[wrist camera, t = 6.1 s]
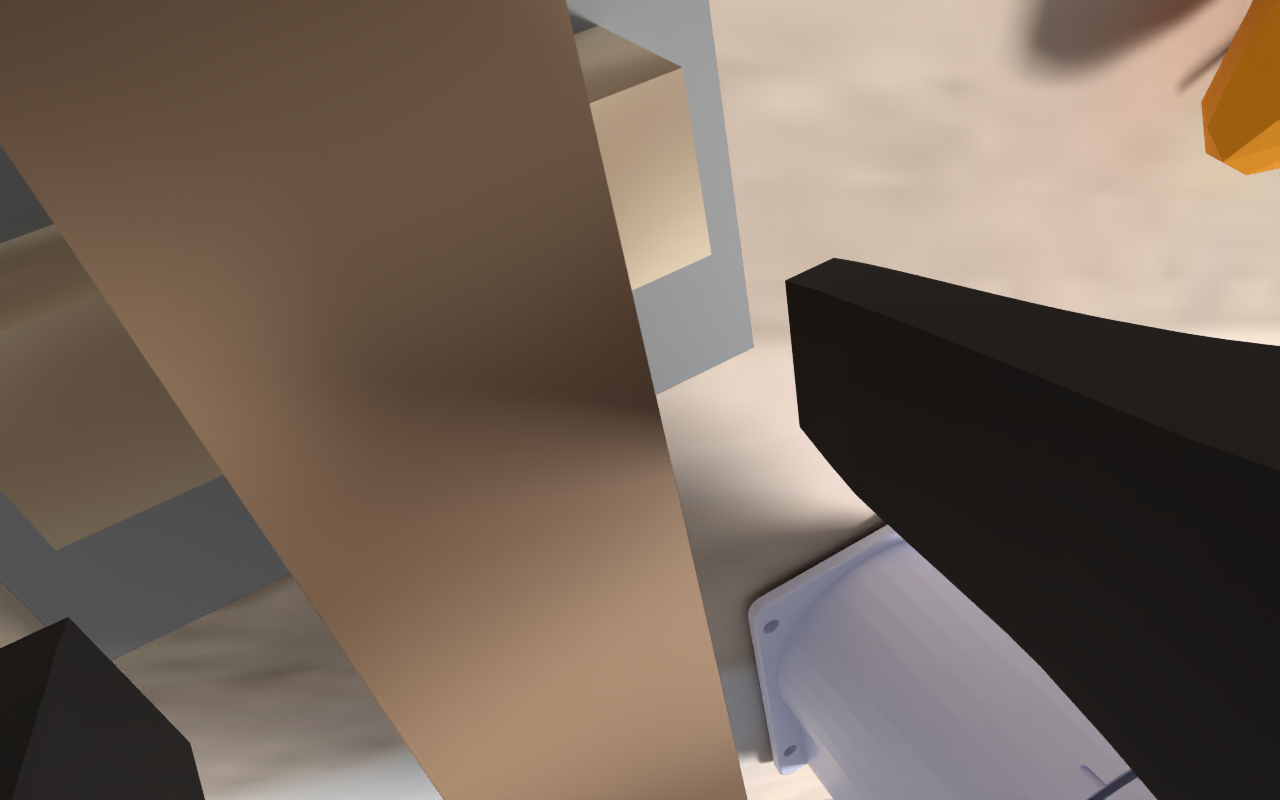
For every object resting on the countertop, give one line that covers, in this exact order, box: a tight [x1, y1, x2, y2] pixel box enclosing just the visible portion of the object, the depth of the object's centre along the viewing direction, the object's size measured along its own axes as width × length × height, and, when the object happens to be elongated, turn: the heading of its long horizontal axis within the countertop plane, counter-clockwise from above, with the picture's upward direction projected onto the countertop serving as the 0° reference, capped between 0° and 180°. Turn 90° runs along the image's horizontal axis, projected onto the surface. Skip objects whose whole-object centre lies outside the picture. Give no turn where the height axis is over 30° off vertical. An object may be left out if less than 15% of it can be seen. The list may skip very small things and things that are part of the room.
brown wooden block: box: [0, 0, 747, 800], centre depth 10 cm, size 18×4×5 cm, turn 11°
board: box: [0, 0, 754, 660], centre depth 14 cm, size 12×14×1 cm
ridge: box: [0, 26, 712, 550], centre depth 13 cm, size 3×10×4 cm, turn 101°
